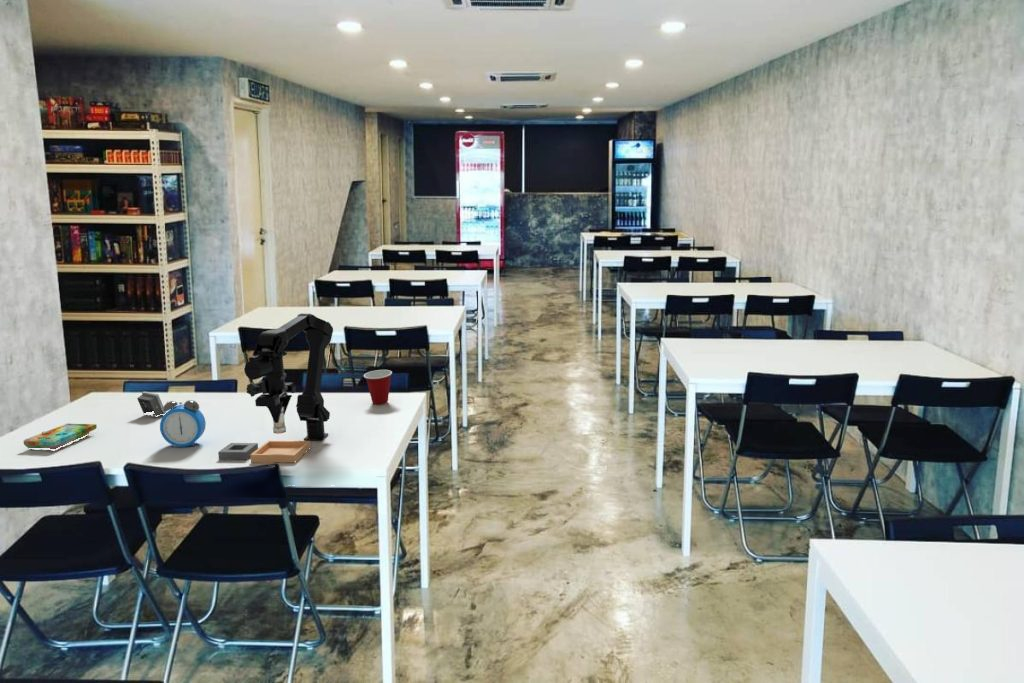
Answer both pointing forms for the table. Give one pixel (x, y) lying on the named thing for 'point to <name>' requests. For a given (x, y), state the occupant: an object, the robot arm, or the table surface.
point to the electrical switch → (151, 403)
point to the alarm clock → (182, 423)
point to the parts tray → (280, 451)
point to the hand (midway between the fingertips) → (278, 420)
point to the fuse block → (237, 451)
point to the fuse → (280, 424)
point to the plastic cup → (378, 385)
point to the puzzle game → (59, 436)
